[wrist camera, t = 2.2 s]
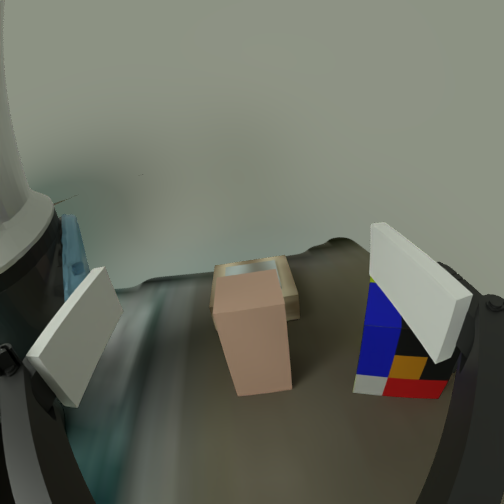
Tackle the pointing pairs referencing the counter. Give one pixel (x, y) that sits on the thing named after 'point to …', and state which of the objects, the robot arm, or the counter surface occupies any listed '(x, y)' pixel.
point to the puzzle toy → (396, 355)
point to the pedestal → (263, 264)
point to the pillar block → (253, 331)
